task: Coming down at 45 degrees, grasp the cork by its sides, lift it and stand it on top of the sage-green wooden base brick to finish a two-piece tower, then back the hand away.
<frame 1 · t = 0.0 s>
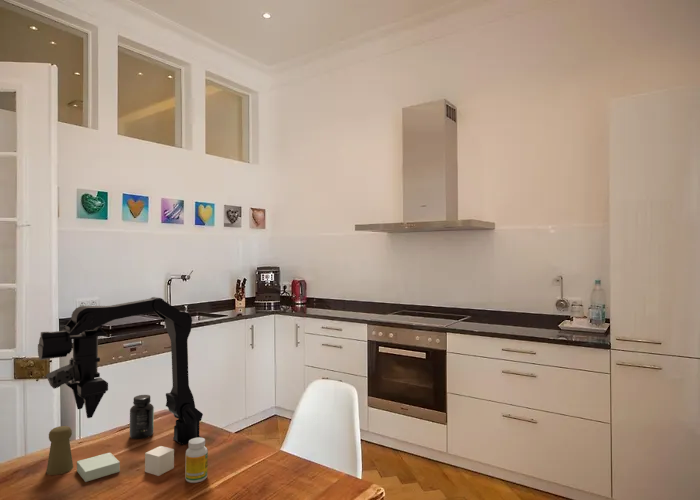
hand: (84, 413, 121), 15 cm above the table, tool pointing down, fingers open, 9 cm apart
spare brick: (159, 470, 121), on the table
supplement bottle 2: (196, 479, 117), on the table
cork: (59, 470, 121), on the table
supplement bottle: (141, 435, 144), on the table
base brick: (98, 471, 120), on the table
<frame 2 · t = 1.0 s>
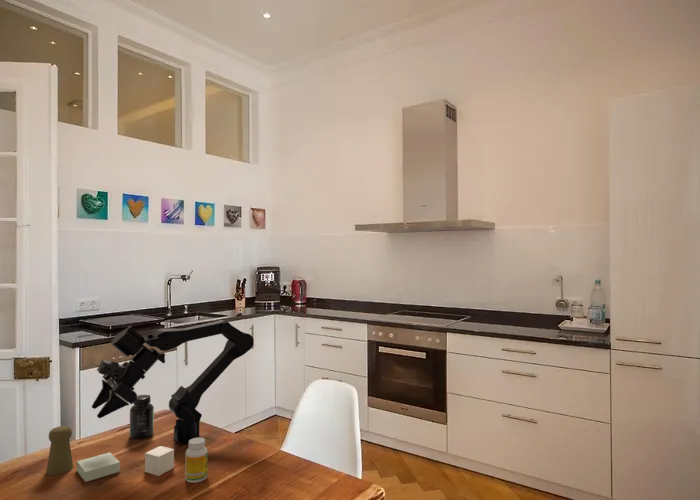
hand: (95, 412, 126), 13 cm above the table, tool tilted 45°, fingers open, 9 cm apart
nothing on the table moved.
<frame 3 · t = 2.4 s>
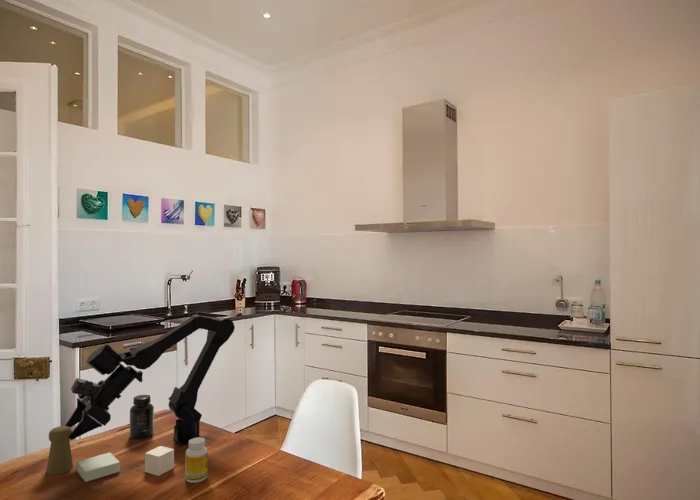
hand: (67, 433, 122), 9 cm above the table, tool tilted 45°, fingers open, 9 cm apart
nothing on the table moved.
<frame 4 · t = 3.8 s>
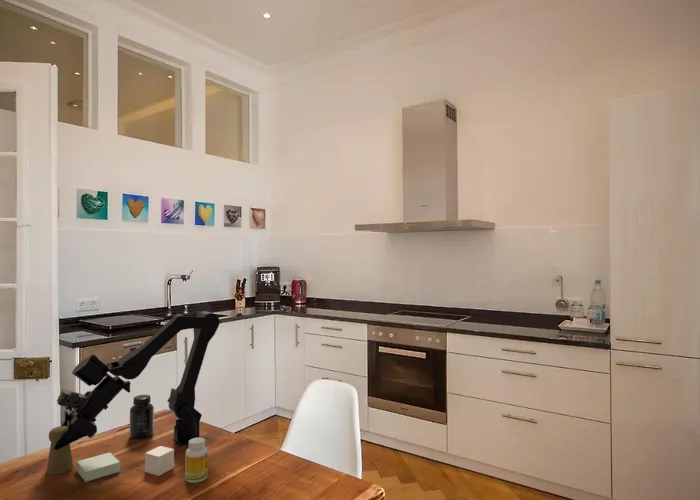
hand: (53, 445, 120), 7 cm above the table, tool tilted 45°, fingers closed on cork, 5 cm apart
cork: (59, 470, 121), on the table, touching gripper
everything else where it was.
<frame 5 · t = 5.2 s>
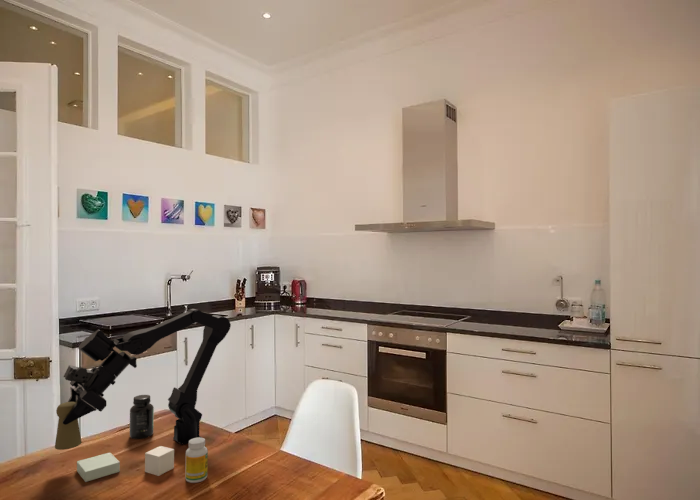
hand: (62, 420, 120), 13 cm above the table, tool tilted 45°, fingers closed on cork, 5 cm apart
cork: (68, 445, 121), point 6 cm above the table, touching gripper
everything else where it was.
when the fingers open (10 cm above the table, at t = 6.8 s): cork stays where it is, resting on base brick.
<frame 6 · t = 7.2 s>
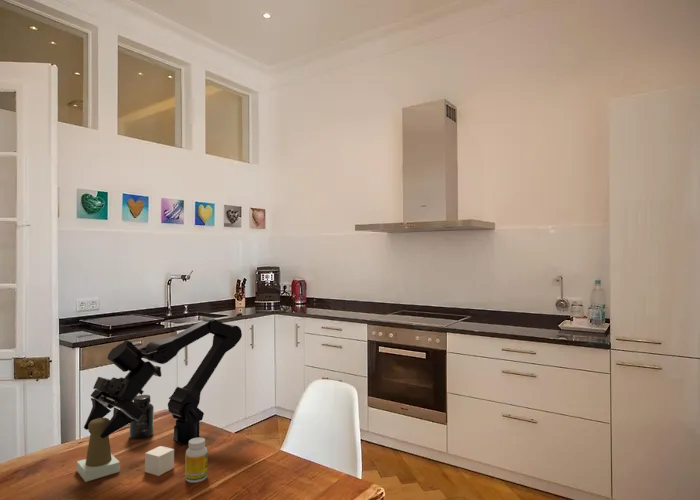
hand: (93, 433, 119), 10 cm above the table, tool tilted 45°, fingers open, 9 cm apart
cork: (98, 462, 120), point 2 cm above the table, touching base brick
everything else where it was.
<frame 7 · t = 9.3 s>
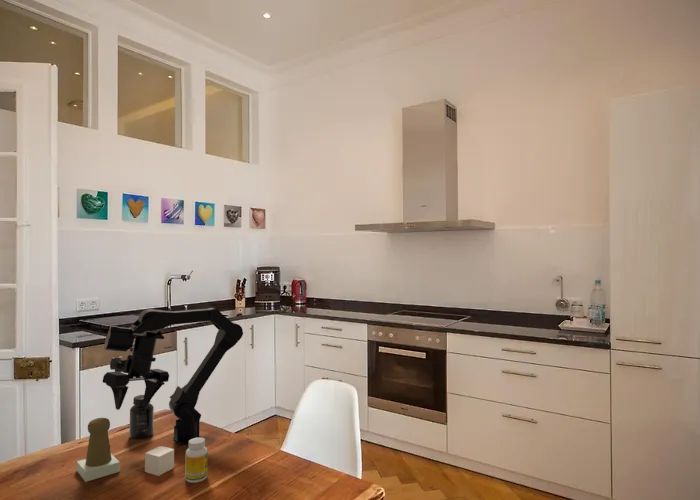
hand: (131, 407, 132), 13 cm above the table, tool pointing down, fingers open, 9 cm apart
nothing on the table moved.
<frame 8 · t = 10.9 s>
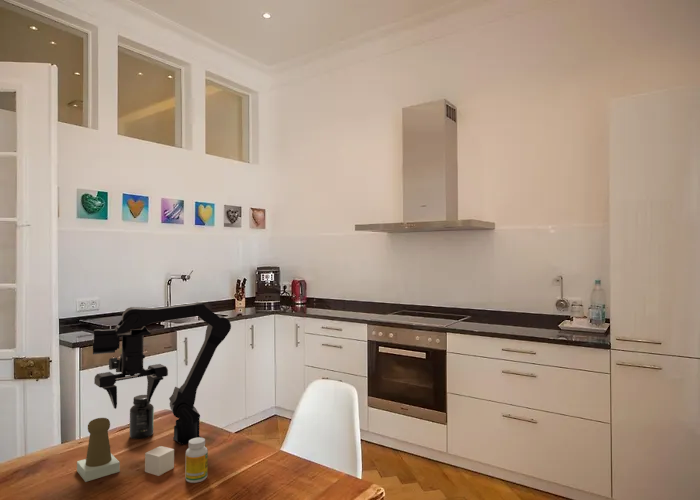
hand: (132, 404, 134), 13 cm above the table, tool pointing down, fingers open, 9 cm apart
nothing on the table moved.
at the end: cork inside the target area on the base brick (0.1 cm from its centre), point 2.3 cm above the base brick's base; cork tilted 0°; the gripper is holding nothing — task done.
